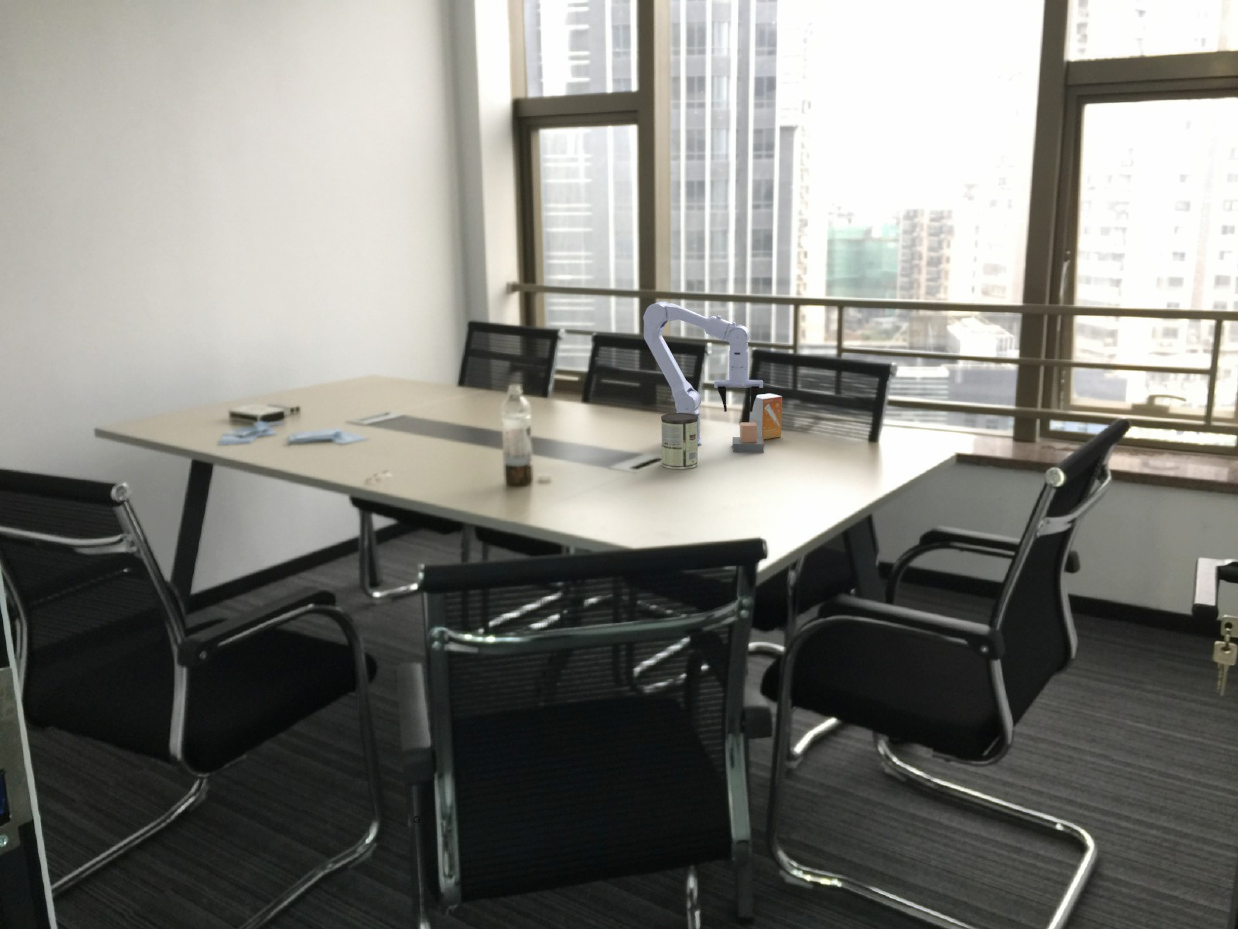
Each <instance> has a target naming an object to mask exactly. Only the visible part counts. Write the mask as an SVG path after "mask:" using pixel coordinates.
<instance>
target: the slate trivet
mask: <svg viewBox="0 0 1238 929" xmlns="http://www.w3.org/2000/svg"><path fill="white" fill-rule="evenodd" d="M731 442H732V445H733V446H732V453H765V451H764V449H765V448H764V447H765V442H764V439H763V437H757V442H741V440H740V436H732V441H731Z"/></svg>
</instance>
